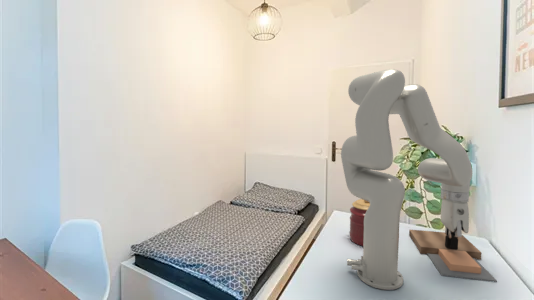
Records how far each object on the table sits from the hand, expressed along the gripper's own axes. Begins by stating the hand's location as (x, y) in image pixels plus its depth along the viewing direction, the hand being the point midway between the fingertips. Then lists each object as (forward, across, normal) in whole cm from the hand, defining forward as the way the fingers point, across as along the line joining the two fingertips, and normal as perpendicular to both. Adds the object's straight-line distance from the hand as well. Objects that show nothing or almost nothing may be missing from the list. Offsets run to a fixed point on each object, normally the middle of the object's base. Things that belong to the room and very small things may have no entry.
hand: (451, 248), depth 88 cm
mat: (+3, -6, 0) cm, 7 cm away
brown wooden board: (+3, +8, 0) cm, 9 cm away
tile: (+3, -4, 0) cm, 5 cm away
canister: (+4, +8, +26) cm, 27 cm away
